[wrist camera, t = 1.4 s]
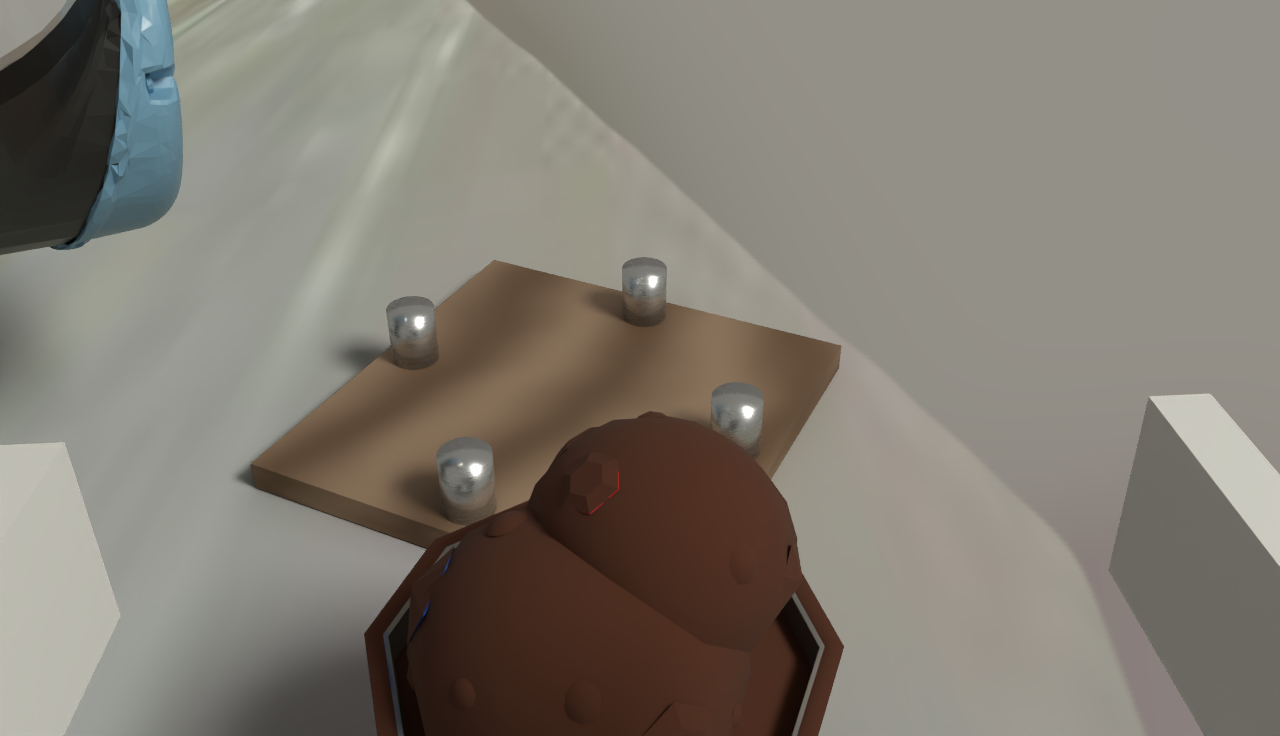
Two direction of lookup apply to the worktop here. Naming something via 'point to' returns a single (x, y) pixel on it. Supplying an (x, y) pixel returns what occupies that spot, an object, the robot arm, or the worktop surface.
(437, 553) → the ice cream bowl
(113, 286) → the worktop surface
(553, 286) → the stub board
